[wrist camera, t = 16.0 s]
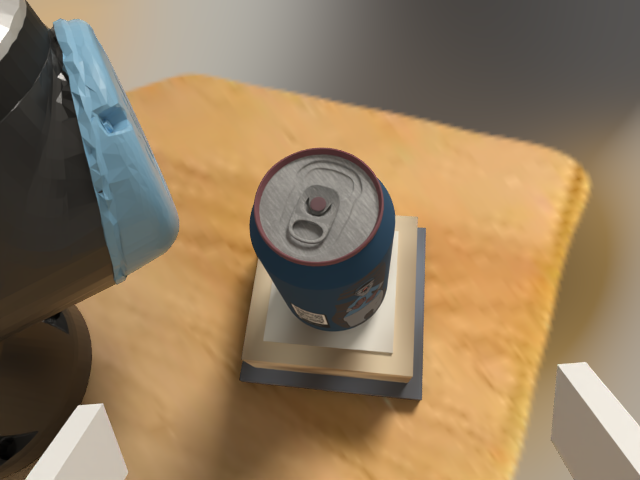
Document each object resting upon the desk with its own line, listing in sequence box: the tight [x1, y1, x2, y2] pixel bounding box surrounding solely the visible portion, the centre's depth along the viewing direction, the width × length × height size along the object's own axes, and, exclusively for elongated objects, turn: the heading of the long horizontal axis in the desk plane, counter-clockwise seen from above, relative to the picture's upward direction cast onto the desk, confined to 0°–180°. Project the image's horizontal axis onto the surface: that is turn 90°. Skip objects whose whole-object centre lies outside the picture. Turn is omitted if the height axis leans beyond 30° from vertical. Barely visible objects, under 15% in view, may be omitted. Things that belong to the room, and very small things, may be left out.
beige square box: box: [240, 216, 426, 401], centre depth 33 cm, size 13×13×5 cm
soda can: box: [250, 148, 395, 332], centre depth 25 cm, size 7×7×12 cm
